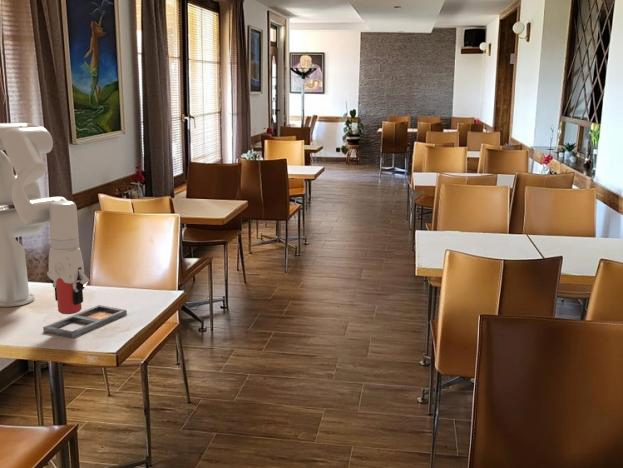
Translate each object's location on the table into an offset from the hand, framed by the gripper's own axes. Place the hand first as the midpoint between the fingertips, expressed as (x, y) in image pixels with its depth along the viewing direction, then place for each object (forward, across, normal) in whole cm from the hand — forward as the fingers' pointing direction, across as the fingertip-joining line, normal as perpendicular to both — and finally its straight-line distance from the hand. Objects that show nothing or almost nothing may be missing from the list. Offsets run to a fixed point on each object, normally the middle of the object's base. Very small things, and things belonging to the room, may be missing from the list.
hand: (69, 300), depth 189 cm
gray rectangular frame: (+9, +1, +5) cm, 10 cm away
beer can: (+3, 0, 0) cm, 3 cm away
